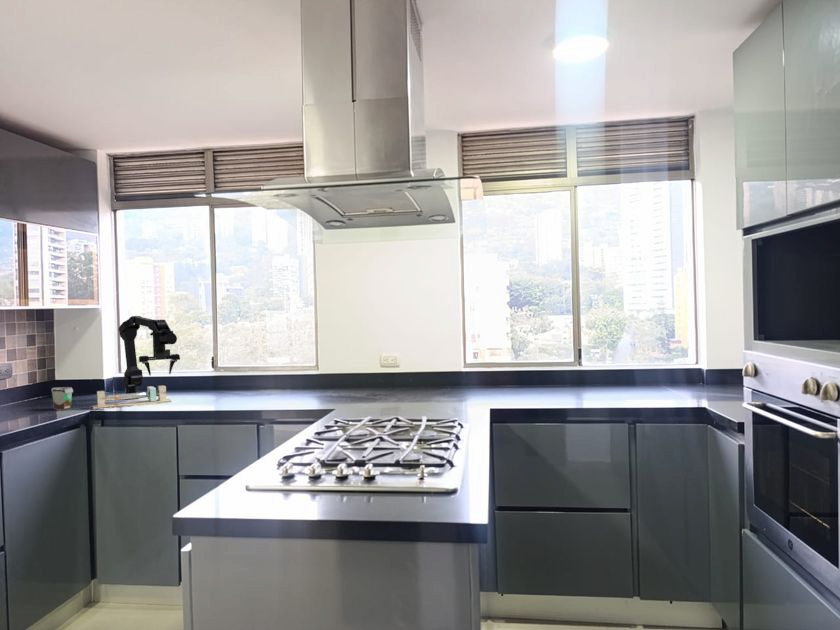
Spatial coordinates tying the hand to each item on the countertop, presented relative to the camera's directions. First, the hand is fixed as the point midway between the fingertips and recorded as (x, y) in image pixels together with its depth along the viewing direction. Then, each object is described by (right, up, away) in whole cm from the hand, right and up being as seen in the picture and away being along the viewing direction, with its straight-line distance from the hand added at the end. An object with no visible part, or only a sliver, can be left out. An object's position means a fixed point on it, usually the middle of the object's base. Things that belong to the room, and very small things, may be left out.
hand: (160, 374), depth 296 cm
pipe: (-9, -11, -10) cm, 17 cm away
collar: (-3, -12, -4) cm, 13 cm away
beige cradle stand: (-9, -14, -10) cm, 19 cm away
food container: (-38, -15, -16) cm, 44 cm away
